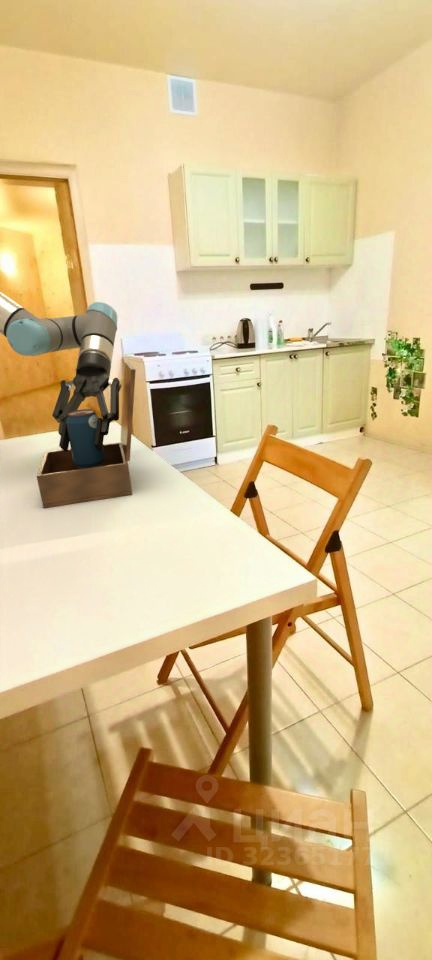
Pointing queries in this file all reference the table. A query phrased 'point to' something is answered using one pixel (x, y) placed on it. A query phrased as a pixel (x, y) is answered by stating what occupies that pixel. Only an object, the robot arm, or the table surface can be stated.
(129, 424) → the lid
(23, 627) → the table surface
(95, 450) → the soda can
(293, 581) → the table surface
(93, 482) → the brown wooden open box
